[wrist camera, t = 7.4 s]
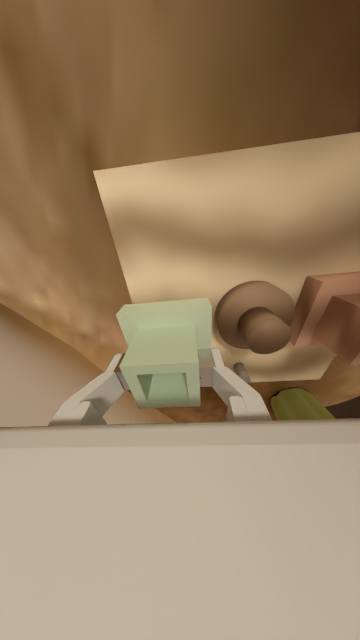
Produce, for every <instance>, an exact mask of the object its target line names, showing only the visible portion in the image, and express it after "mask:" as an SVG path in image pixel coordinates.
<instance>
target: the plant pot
mask: <svg viewBox="0 0 360 640" xmlns="http://www.w3.org/2000/svg"><path fill="white" fill-rule="evenodd" d="M270 402H271V405H272V408H273V411H274V414H275V416H276V419H277V421H278V420H318V419H335V418H334V417H333V416H332V415H331V414H330V413H329V412H328V411H327V410H326V409H325V408H324V406H323V405H322V404H321V403H320V402H319V401H318V400H317V399H316V398H315V397H314V396H313V395H312V394H311V393H310V392H309V391H305V390H303V389H301V388H290V389H285V390H282V391H280V392H279V394H278V395H277V396H273V397H272V398H271V400H270Z"/></svg>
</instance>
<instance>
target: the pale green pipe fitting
mask: <svg viewBox="0 0 360 640" xmlns="http://www.w3.org/2000/svg"><path fill="white" fill-rule="evenodd" d="M116 316H117V319H118V322H119V324H120V327H121V329H122V332H123V335H124V337H125V340H126V342H127V345H128V349H127V352H126V354H125V356H124V358H123V360H122V362H121V364H120V366H119V367H120V369H121V371H122V374H123V376H124V378H125V380H126V382H127V384H128V386H129V388H130V390H131V393H132V395H133V397H134V399H135V401H136V403H137V405H138V407H139V408H166V407H196V406H201V403H200V378H199V360H198V351H197V349H209V348H210V349H211V329H212V306H211V304H210V301H209V299H208V298H198V299H186V300H175V301H163V302H151V303H139V304H127V305H124V306H123V307H122V308H121V309H120V311H119V312H118V313H117V314H116Z"/></svg>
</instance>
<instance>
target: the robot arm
mask: <svg viewBox="0 0 360 640" xmlns="http://www.w3.org/2000/svg"><path fill="white" fill-rule="evenodd" d="M197 351H198V360H199V378H200V387H213V389H214V390H215V391H216V393H217V394H218V395H219V396H220V398H221V399H222V400H223V401H224V403H225V404H226V405H227V406H228V409H227V415H226V422H195V423H153V424H115V425H114V424H112V425H107V423H106V421H105V420H104V419H103V418H102V416H103V415H104V414H105V413H106V411H107V410H108V409H109V408H110V407H111V406H112V405H113V403H114V402H115V401H116V400H117V399H118V398H119V397H120V395H121V394H122V393H123V392H124V390H130V388H129V386H128V384H127V382H126V380H125V378H124V376H123V374H122V371H121V369H120V367H119V366H120V364H121V362H122V360H123V358H124V356H125V354H126V353H124V354H116V355H115V356H114V358H113V359H112V361H111V363H110V365H109V366H108V368H107V370H106V372H105V373H102V374H101V375H99V376H98V377H97V378H96V379H94V380H93V381H91V382H90V383H89V384H87V385H86V386H85V387H83V388H82V389H81V390H79V391H78V392H77V393H75V394H74V395H73V396H72V397H70V398H69V399H68V400H66V401H65V402H64V404H63V405H62V406H61V408H60V409H59V411H58V412H57V414H56V415H55V416H54V418H53V419H52V420H51V422H50V423H49V425H48V426H32V427H0V640H360V418H359V419H318V420H278V421H273V420H272V418H271V416H270V414H269V412H268V410H267V408H266V406H265V403H264V401H263V399H262V397H261V395H260V394H259V393H258V392H257V391H255V390H254V389H253V388H252V387H251V386H249V385H248V384H247V383H246V382H245V381H243V380H242V379H241V378H240V377H239V376H237V375H236V374H235V373H234V372H233V371H231V370H230V369H229V368H228V367H225V366H224V363H223V360H222V357H221V354H220V351H219V348H211V349H210V348H209V349H197Z"/></svg>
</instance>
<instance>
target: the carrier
mask: <svg viewBox="0 0 360 640" xmlns="http://www.w3.org/2000/svg"><path fill="white" fill-rule="evenodd" d="M93 172H94V176H95V179H96V182H97V186H98V189H99V193H100V196H101V199H102V203H103V206H104V209H105V213H106V216H107V219H108V223H109V226H110V230H111V233H112V236H113V240H114V243H115V246H116V250H117V253H118V256H119V260H120V263H121V267H122V270H123V273H124V277H125V280H126V283H127V287H128V290H129V293H130V297H131V300H132V303H133V304H139V303H151V302H163V301H175V300H186V299H198V298H208V299H209V301H210V304H211V306H212V329H211V348H219V351H220V354H221V357H222V360H223V363H224V366H225V367H228V368H229V369H230V370H231V371H233V372H234V373H235V374H236V375H237V376H239V377H240V378H241V379H242V380H243V381H245V382H246V383H247V384H248V385H249V386H250V385H251V384H252V382H269V381H293V380H318V379H320V378H321V377H322V375H323V374H324V372H325V371H326V369H327V368H328V366H329V365H330V363H331V362H332V361H333V359H334V358H335V356H336V355H337V356H338V357H339V358H341V359H342V360H343V361H344V362H346V363H347V364H348V365H360V132H355V133H348V134H342V135H335V136H328V137H321V138H314V139H308V140H301V141H294V142H287V143H281V144H274V145H267V146H260V147H253V148H247V149H240V150H233V151H226V152H220V153H213V154H206V155H199V156H192V157H186V158H179V159H172V160H165V161H159V162H152V163H145V164H138V165H131V166H125V167H118V168H111V169H104V170H98V171H93Z"/></svg>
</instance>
